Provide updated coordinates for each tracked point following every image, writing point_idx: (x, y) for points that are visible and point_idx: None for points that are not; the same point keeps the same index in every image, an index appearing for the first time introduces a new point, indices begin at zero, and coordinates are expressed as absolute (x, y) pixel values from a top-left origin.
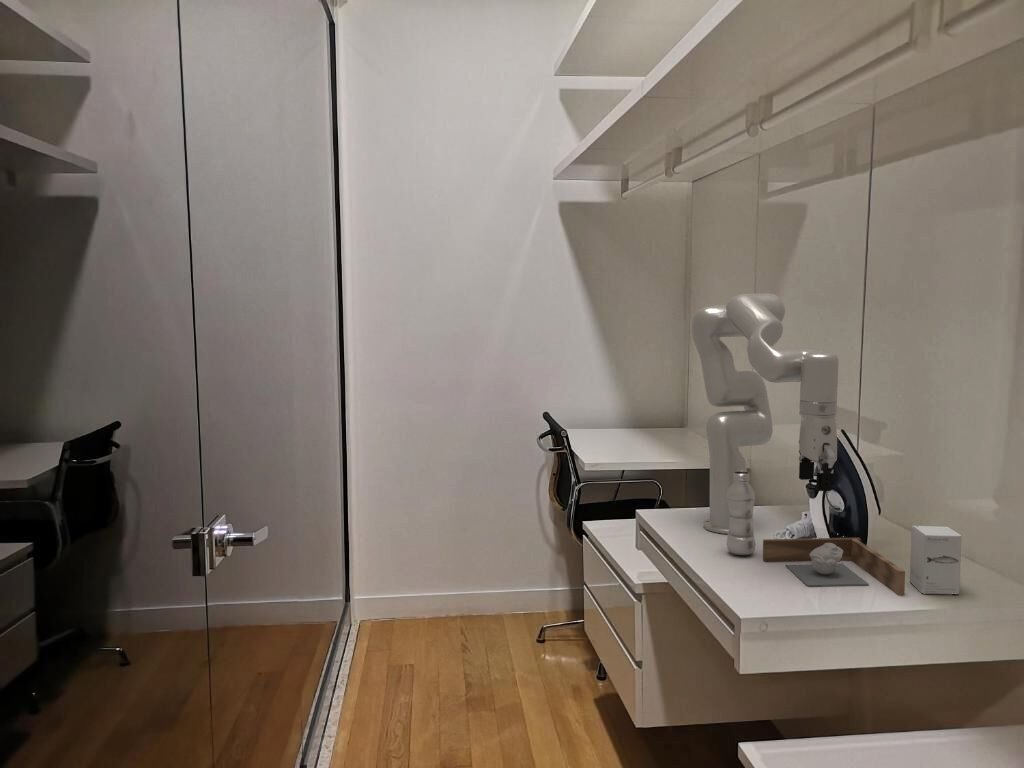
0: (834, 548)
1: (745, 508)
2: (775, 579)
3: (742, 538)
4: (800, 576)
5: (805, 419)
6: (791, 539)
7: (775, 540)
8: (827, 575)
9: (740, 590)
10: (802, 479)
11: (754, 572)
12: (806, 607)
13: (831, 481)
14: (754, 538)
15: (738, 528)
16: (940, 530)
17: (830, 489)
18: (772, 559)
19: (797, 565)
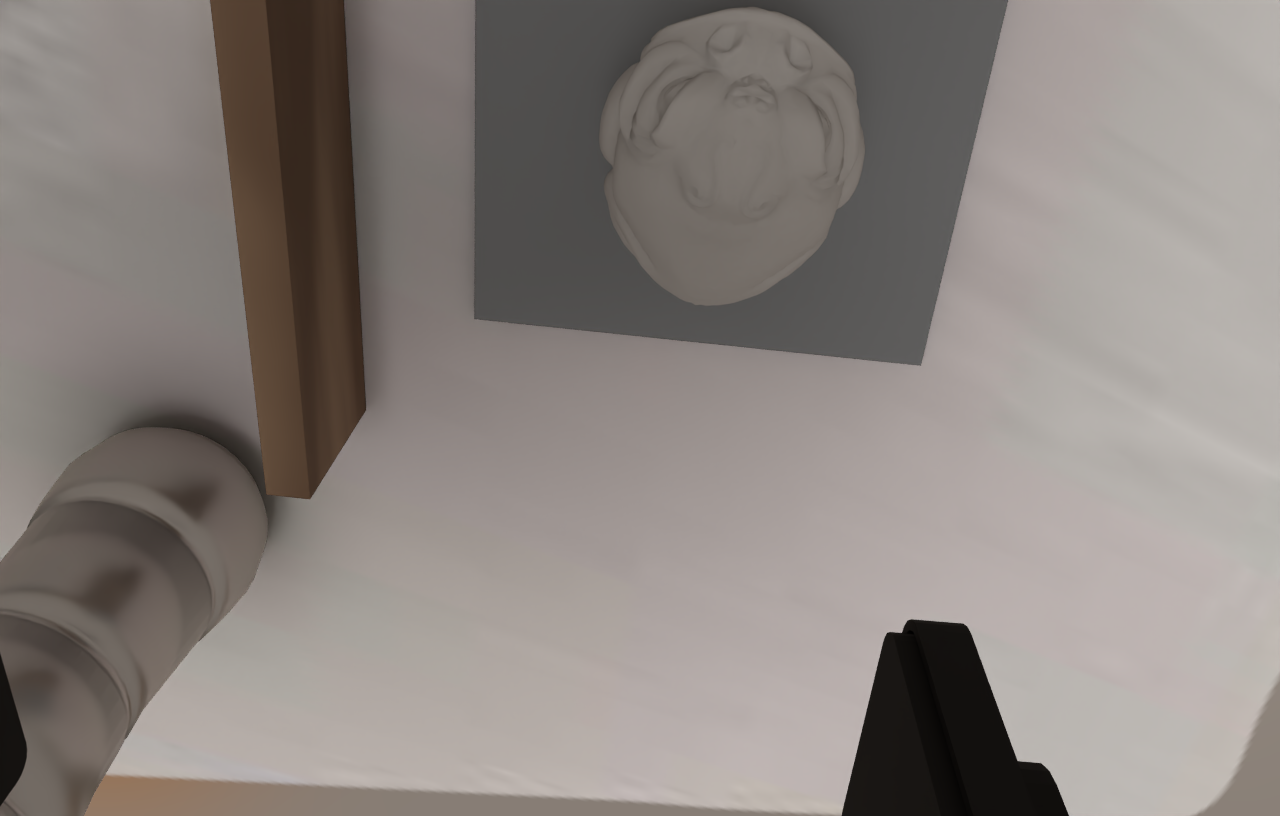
0: (822, 148)
1: (78, 784)
2: (728, 486)
3: (214, 600)
4: (743, 333)
5: None
6: (257, 272)
7: (291, 415)
8: None
9: None
10: (7, 720)
11: (576, 549)
12: (1243, 522)
13: (1023, 794)
14: (157, 492)
15: (166, 676)
16: None
17: (959, 651)
18: (358, 366)
19: (494, 240)
